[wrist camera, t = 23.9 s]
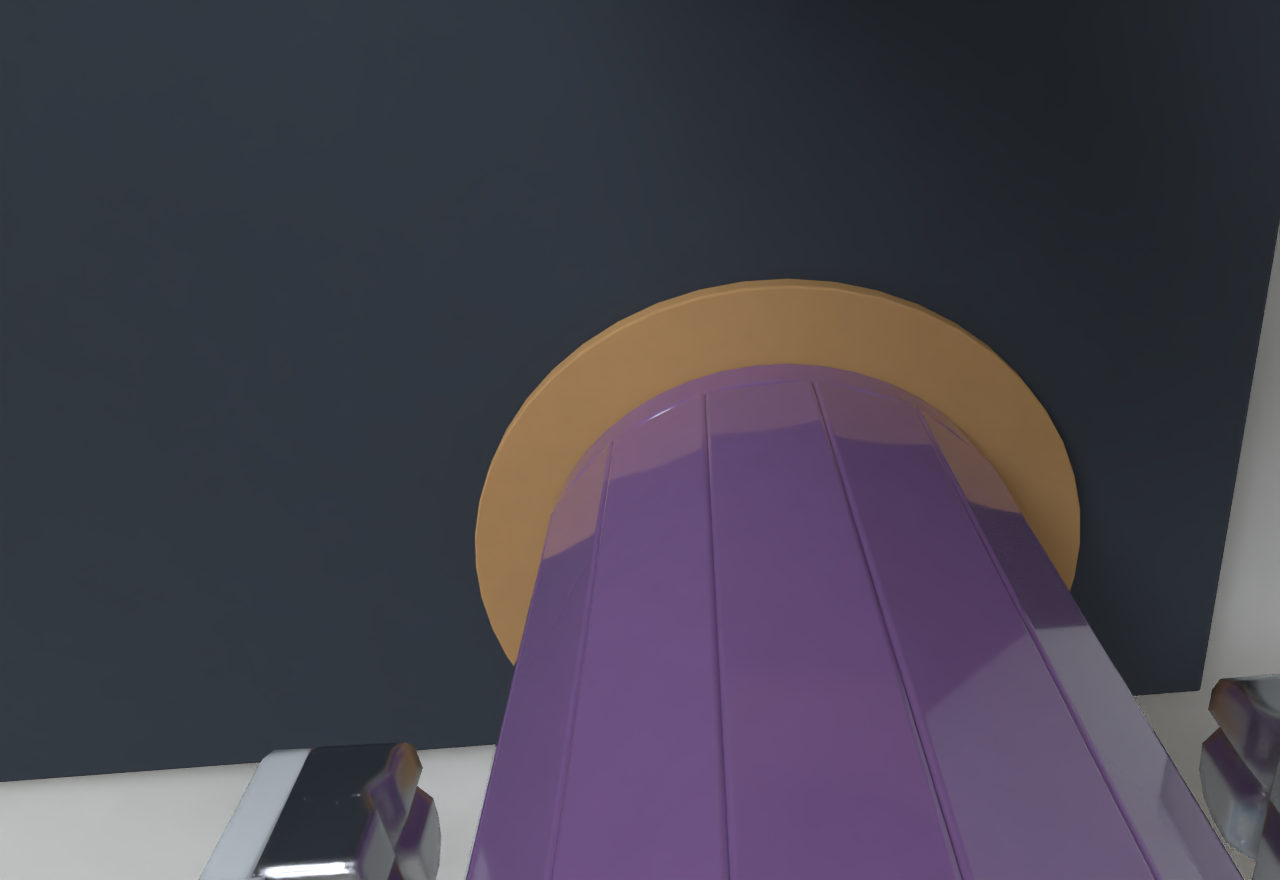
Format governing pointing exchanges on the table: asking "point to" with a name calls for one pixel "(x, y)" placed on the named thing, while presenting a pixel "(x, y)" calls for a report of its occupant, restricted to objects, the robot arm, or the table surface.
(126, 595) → the placemat
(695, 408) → the purple cup
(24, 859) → the table surface
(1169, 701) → the table surface
